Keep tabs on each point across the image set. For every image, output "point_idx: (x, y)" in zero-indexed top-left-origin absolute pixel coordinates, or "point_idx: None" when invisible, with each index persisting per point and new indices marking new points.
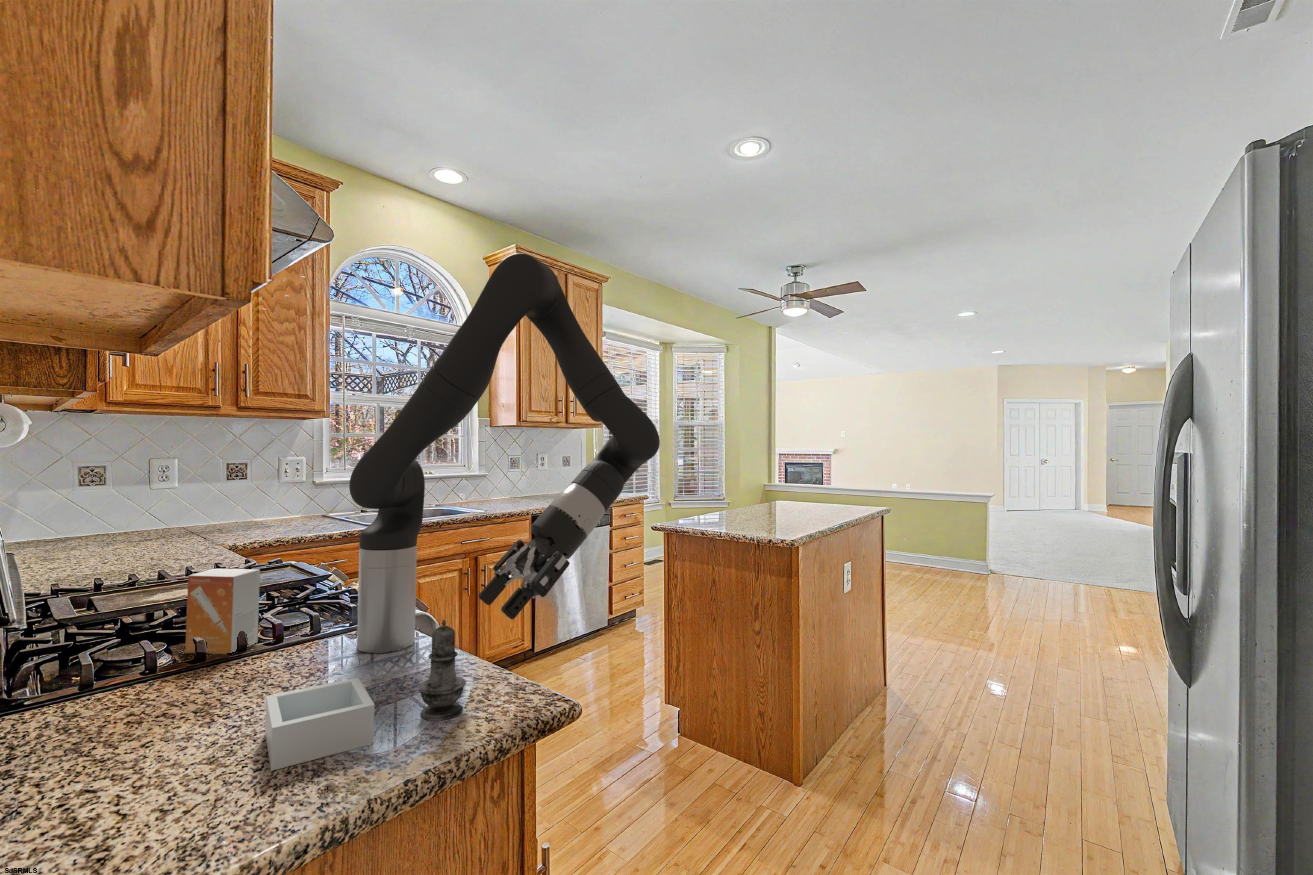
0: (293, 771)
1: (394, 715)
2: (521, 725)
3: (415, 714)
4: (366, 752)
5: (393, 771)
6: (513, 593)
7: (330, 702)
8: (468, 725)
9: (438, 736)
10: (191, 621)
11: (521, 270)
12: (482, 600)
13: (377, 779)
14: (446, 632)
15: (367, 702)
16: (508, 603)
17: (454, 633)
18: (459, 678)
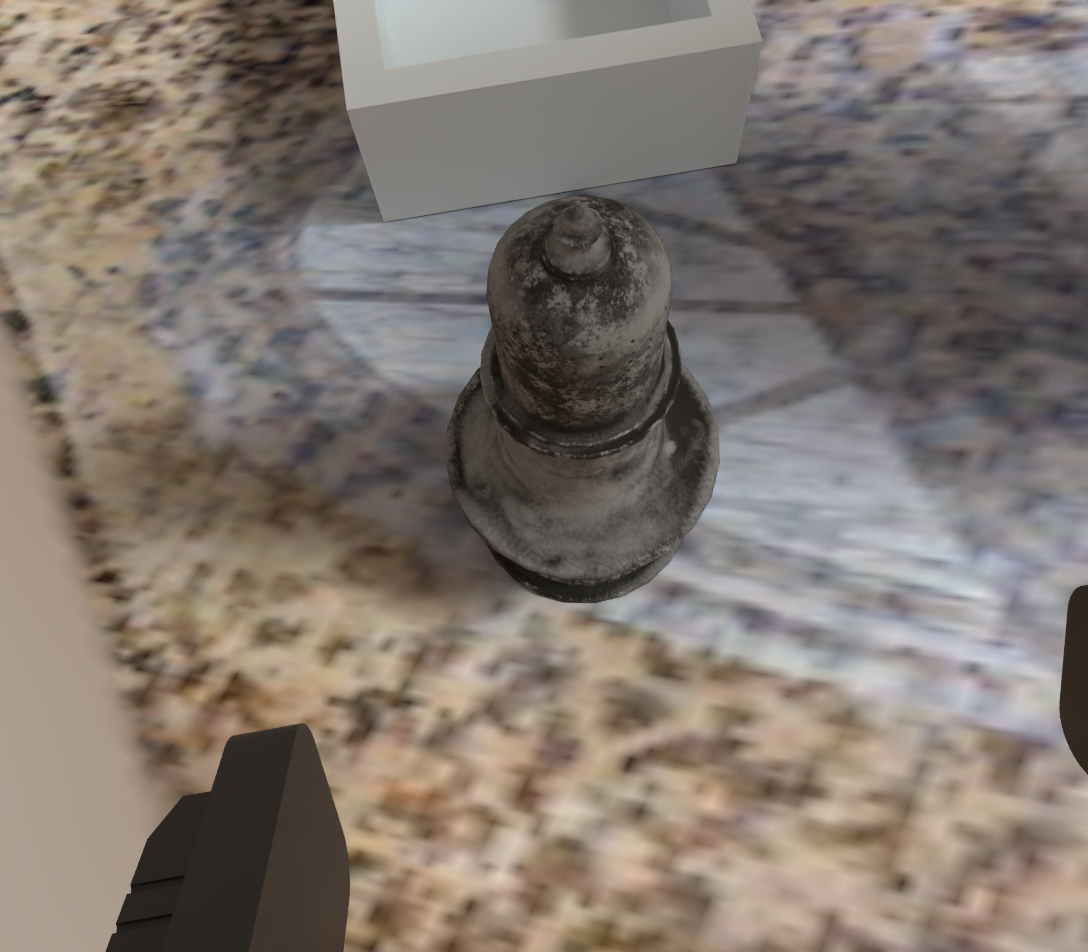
0: (310, 11)
1: None
2: None
3: None
4: (324, 201)
5: (116, 283)
6: (258, 923)
7: (682, 11)
8: (358, 598)
9: (316, 456)
10: None
11: None
12: (1066, 632)
13: (92, 235)
14: (496, 277)
15: (390, 84)
16: (206, 808)
17: (537, 356)
18: (588, 536)
